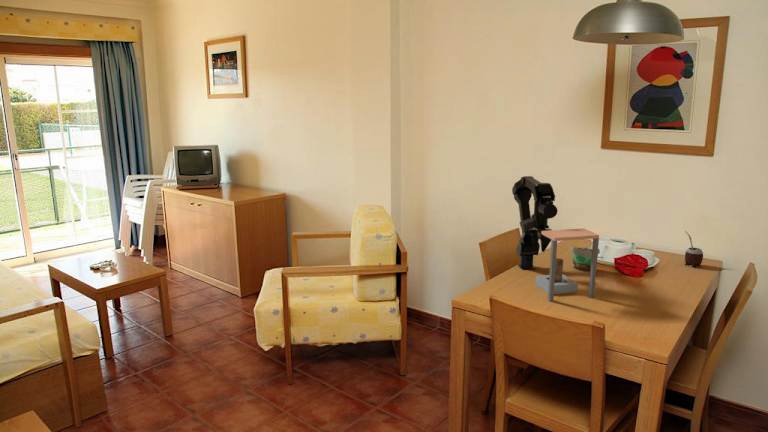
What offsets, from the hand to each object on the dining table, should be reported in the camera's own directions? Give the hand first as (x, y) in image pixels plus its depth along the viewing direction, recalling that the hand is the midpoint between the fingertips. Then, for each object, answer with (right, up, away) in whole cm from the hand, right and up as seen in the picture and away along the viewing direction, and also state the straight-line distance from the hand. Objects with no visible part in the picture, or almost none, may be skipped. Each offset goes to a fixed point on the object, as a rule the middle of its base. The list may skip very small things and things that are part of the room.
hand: (538, 248), depth 225 cm
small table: (+5, -16, -13) cm, 21 cm away
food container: (+23, -10, +12) cm, 29 cm away
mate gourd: (+74, -9, +16) cm, 77 cm away
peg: (+4, -15, -9) cm, 19 cm away
